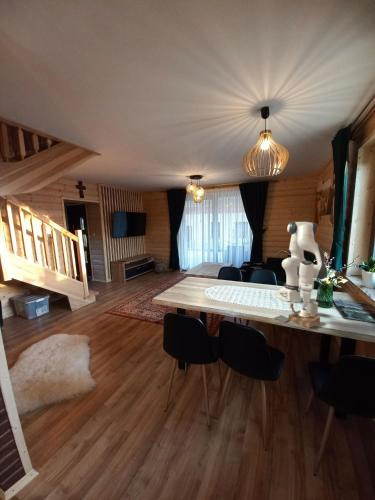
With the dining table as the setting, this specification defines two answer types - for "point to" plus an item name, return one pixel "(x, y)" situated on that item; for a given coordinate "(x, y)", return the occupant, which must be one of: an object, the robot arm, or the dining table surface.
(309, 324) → the socket block
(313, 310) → the cup
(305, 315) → the plug
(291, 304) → the clip
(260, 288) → the dining table surface
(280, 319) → the mat
